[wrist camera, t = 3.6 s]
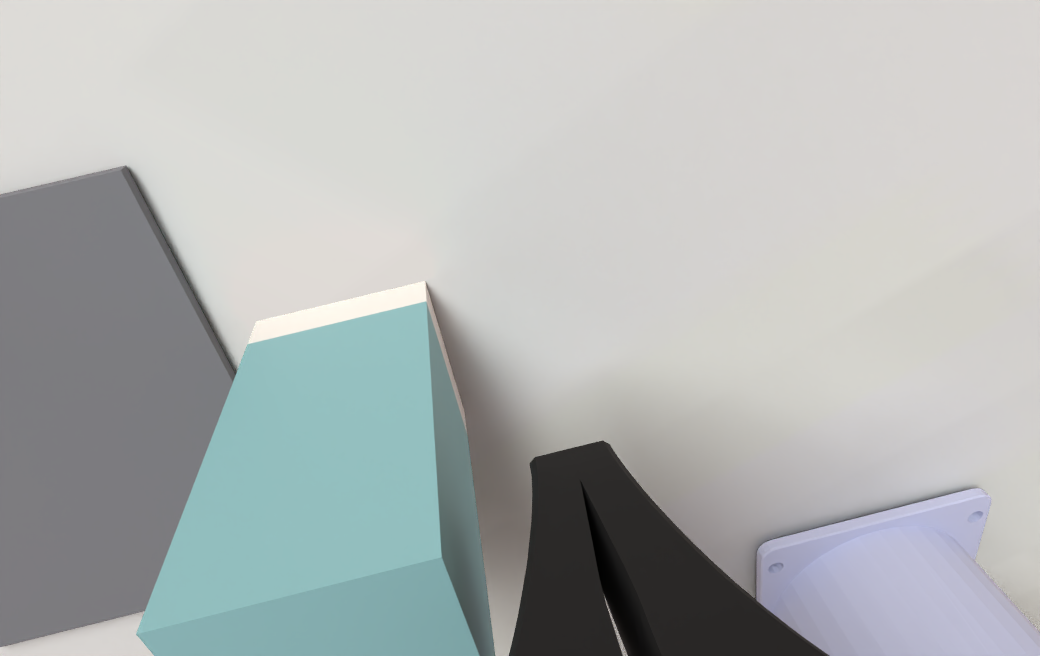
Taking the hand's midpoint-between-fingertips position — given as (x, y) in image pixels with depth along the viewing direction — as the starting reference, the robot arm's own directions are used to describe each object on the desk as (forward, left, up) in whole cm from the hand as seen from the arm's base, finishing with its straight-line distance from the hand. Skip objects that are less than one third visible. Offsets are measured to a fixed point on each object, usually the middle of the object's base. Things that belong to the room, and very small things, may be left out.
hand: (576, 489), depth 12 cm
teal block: (0, +4, -6) cm, 7 cm away
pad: (0, +12, -6) cm, 13 cm away
